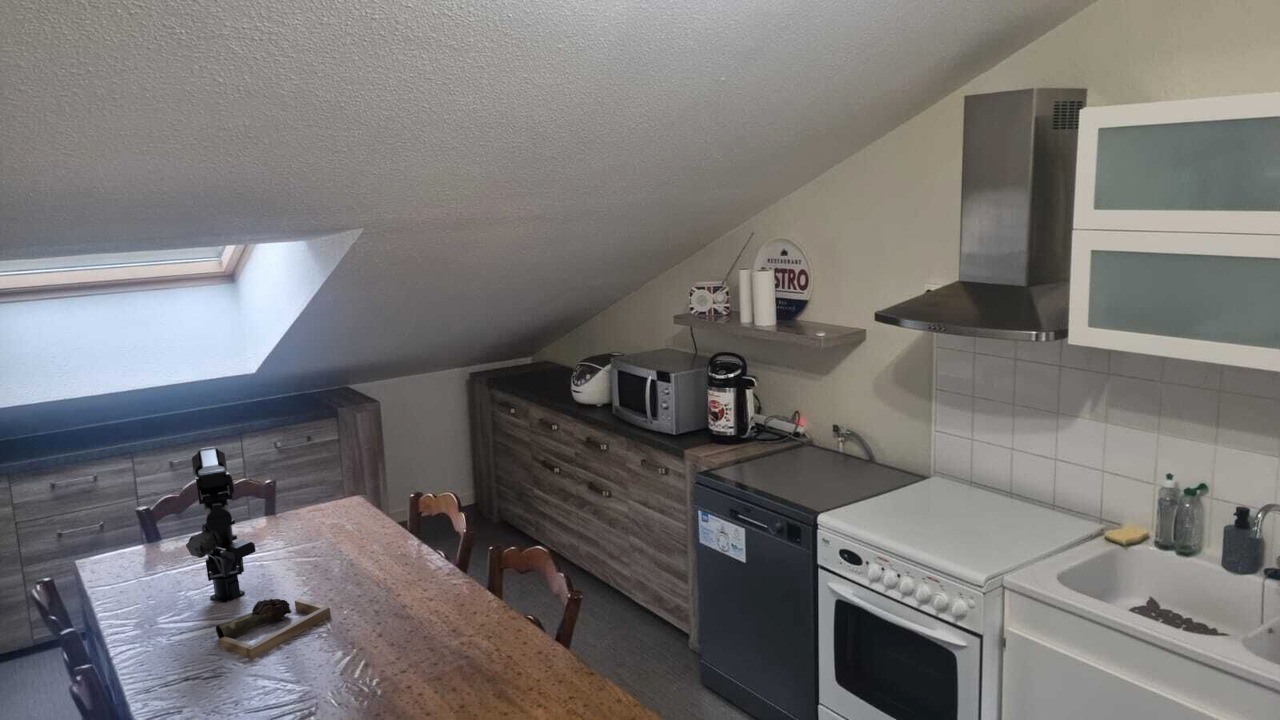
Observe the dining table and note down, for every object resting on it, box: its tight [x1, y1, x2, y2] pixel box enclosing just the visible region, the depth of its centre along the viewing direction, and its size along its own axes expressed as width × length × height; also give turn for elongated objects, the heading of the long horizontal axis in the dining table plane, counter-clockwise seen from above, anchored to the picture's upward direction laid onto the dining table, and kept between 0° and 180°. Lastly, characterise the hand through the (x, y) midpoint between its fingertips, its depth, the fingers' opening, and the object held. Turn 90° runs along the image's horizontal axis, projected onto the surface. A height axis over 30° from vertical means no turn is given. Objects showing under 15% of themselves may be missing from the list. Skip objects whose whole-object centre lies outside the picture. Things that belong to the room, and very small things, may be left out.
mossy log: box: [215, 598, 293, 640], centre depth 239 cm, size 18×7×6 cm, turn 136°
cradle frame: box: [219, 598, 332, 660], centre depth 236 cm, size 11×24×2 cm, turn 150°
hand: (225, 576), depth 242 cm, fingers closed
